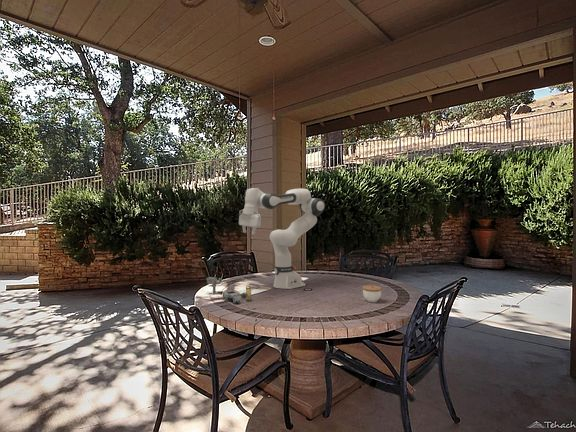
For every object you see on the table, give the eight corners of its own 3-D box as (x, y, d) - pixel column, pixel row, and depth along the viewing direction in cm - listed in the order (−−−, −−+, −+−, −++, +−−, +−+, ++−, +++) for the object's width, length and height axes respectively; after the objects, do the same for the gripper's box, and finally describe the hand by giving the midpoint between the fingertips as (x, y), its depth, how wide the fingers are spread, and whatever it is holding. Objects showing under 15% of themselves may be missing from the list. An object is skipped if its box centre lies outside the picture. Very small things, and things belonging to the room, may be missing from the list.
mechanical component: (220, 294, 212) (220, 278, 212) (205, 293, 214) (205, 278, 214) (222, 293, 215) (222, 277, 215) (207, 292, 217) (207, 277, 217)
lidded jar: (382, 303, 190) (382, 287, 189) (362, 302, 192) (362, 286, 191) (380, 298, 200) (380, 282, 200) (362, 297, 202) (362, 282, 202)
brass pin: (250, 299, 200) (250, 286, 200) (252, 300, 198) (252, 287, 197) (245, 300, 199) (245, 286, 199) (247, 301, 196) (247, 287, 196)
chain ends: (247, 294, 211) (247, 288, 211) (257, 301, 197) (257, 294, 197) (222, 298, 203) (222, 291, 203) (231, 305, 189) (231, 298, 189)
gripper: (264, 213, 212) (262, 235, 211) (246, 212, 227) (244, 232, 227) (256, 212, 207) (254, 234, 207) (238, 211, 223) (236, 231, 223)
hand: (248, 233), depth 217 cm, fingers open, 8 cm apart
